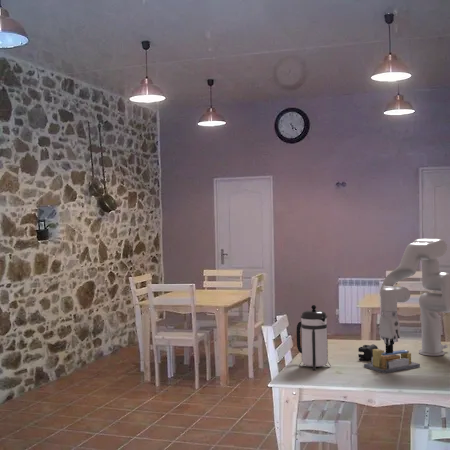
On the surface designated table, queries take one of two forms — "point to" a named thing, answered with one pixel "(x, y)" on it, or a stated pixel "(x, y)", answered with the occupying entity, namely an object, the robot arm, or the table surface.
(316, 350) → the coffee press
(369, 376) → the table surface
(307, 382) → the table surface
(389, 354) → the strap
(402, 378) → the table surface
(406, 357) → the block
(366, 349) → the end cap
